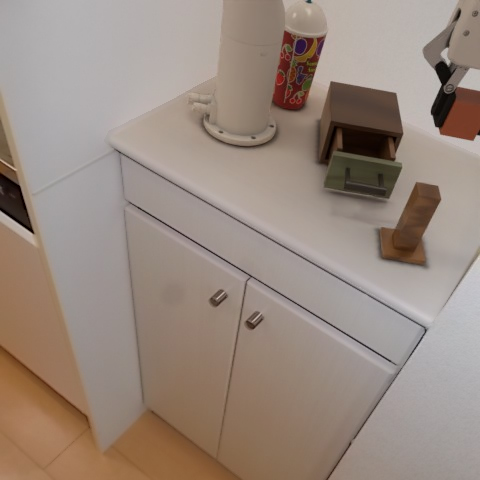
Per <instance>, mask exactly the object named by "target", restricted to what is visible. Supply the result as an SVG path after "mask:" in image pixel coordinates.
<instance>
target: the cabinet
mask: <svg viewBox="0 0 480 480" xmlns="http://www.w3.org/2000/svg"><path fill="white" fill-rule="evenodd" d="M325 97H326V98H325V101H324V105H323V108H322V113H321V117H320V120H319V144H318V145H319V146H318V148H319V149H318V152H319V154H318V163H319V164H324V165H329V143H330V140H331V136H332V133H333V129H334V126H338V127H344V128H349V129H355V130H361V131H366V132H372V133H377V134H383V135H388V136H393V142H394V149H395V155H396V154H397V151H398V149H399V146H400V144H401V141H402V139H403V137H404V127H403V122H402V116H401V111H400V105H399V100H398V94H397V92H393V91H388V90H382V89H377V88H372V87H366V86H360V85H355V84H350V83H345V82H344V83H343V82H338V81H332V80H331V81H330V82H329V86H328V90H327V93H326V96H325Z"/></svg>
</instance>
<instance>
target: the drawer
mask: <svg viewBox="0 0 480 480" xmlns="http://www.w3.org/2000/svg"><path fill="white" fill-rule="evenodd" d="M396 160H397V156H396V154H395V149H394V142H393V136H388V135H383V134H377V133H372V132H366V131H361V130H355V129H349V128H344V127H338V126H334V129H333V133H332V136H331V140H330V143H329V164H328V167H327V170H326V174H325V177H324V179H323V188H325V189H331V190H335V191H340V192H341V191H342V192H346V193H352V194H358V195H362V196H363V195H364V196H369V197H375V198H380V199H387V200H390V198H391V197H392V193H393V191H394V188H395V187H396V184H397V181H398V180H399V176H400V174H401V172H402V170H403V163H402V162H399V161H396Z"/></svg>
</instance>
